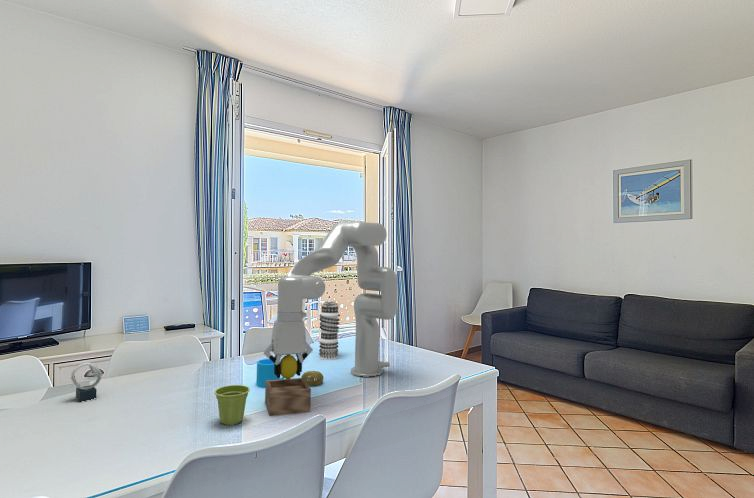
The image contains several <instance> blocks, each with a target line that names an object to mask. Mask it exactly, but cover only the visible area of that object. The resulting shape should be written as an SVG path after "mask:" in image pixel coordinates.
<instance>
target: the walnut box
mask: <svg viewBox="0 0 754 498" xmlns="http://www.w3.org/2000/svg"><path fill="white" fill-rule="evenodd" d="M264 389H265V391H264V393H265V394H264V395H265V396H264V403H265V407H266V410H267V413H268V416H269V417H273V416H274V417H275V416H282V415H283V416H284V415H292V414H300V413H310V412H311V405H312V404H311V397H312V395H311V394H312V389H311V386H309V385H308V384H307V382H306V381H305V379H304V378H301V377H296V378H295V377H292V378H290V379H289V380H287V379H286V378H284V379H280V380H267V381H266V386H265V388H264Z"/></svg>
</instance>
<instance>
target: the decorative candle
mask: <svg viewBox="0 0 754 498" xmlns="http://www.w3.org/2000/svg"><path fill="white" fill-rule="evenodd" d="M339 306H340V305H338V303H337V302H336V301H324V302H323V303H322V304H321V311H320V314H319V319H318V320H319V321H320V322H319V329H320V330H319V332H320V340H319V344H320V345H319V349H318V351H319V353H318V355H319V356H318V357H319V359H320V360H324V361H326V360H327V361H333V360H337V359H338V358H339V357H338V355H339V353H338V352H339V349H338V348H339V341H338V340H339V338H338V333H339V332H340V331H339V328H340V327H339V325H340V322H339V321H340V318H339V317H341V314H339Z"/></svg>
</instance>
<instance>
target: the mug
mask: <svg viewBox="0 0 754 498" xmlns="http://www.w3.org/2000/svg"><path fill="white" fill-rule="evenodd" d="M280 379H285V378H284V377H282V376H281V377H280V378H277V377H276V375H275V374H274V363H273V362H272V361H271V360H270V359H269V358H264V359H259V360H258V361H256V381H255V382H256V383H255V384H256V385H255V386H257V387H258V388H260V389H265V386H266V381H267V380H280Z"/></svg>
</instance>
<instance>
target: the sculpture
mask: <svg viewBox="0 0 754 498" xmlns="http://www.w3.org/2000/svg"><path fill="white" fill-rule="evenodd" d="M300 378H304V379H305V381H306V382H307V384H308V385H309V387H314V386H318V385H321V384H322V383H323V381H324V375H323V373H322V372H320V371H316V370H310V371H309V370H308V371H305V372H303V374H302V375H301V377H300Z"/></svg>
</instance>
